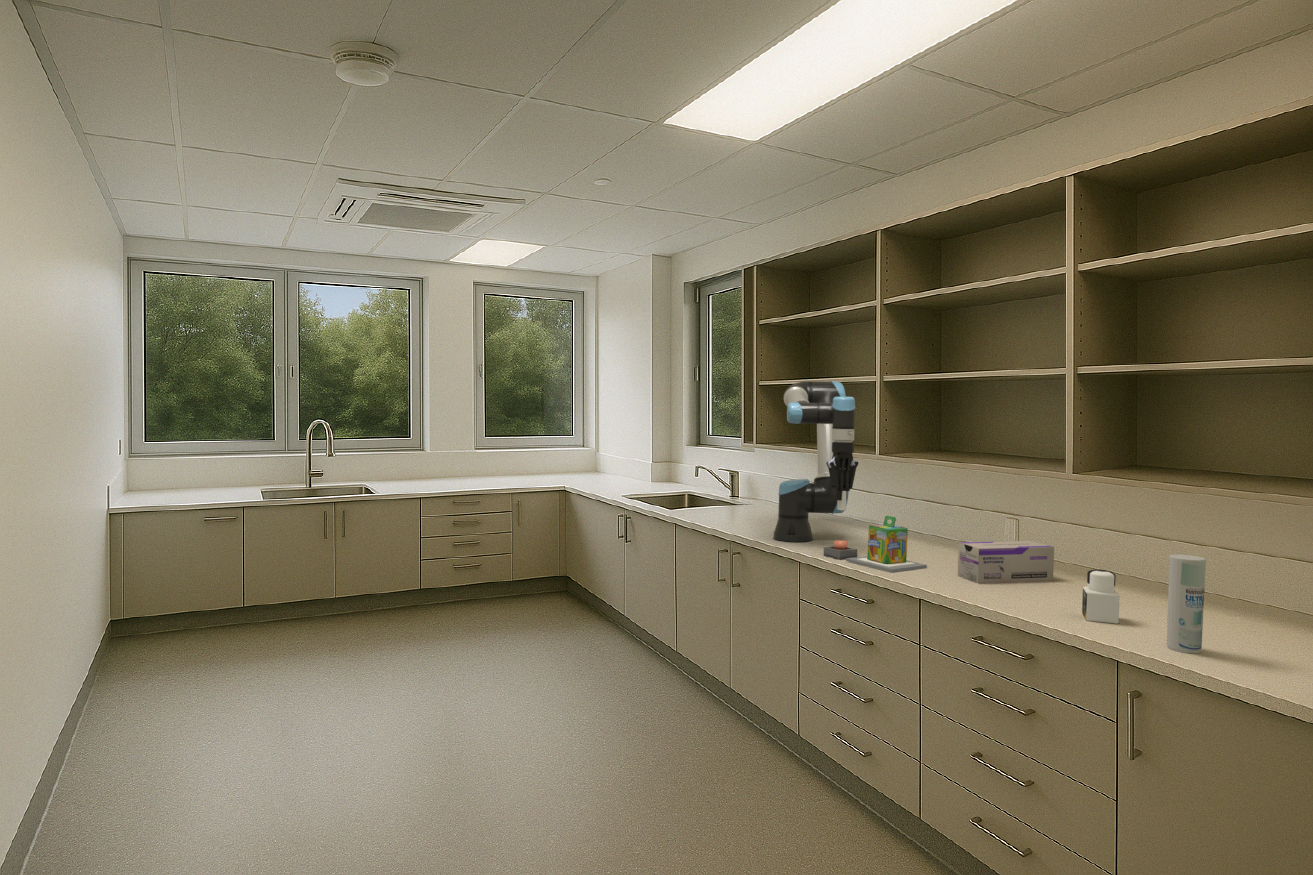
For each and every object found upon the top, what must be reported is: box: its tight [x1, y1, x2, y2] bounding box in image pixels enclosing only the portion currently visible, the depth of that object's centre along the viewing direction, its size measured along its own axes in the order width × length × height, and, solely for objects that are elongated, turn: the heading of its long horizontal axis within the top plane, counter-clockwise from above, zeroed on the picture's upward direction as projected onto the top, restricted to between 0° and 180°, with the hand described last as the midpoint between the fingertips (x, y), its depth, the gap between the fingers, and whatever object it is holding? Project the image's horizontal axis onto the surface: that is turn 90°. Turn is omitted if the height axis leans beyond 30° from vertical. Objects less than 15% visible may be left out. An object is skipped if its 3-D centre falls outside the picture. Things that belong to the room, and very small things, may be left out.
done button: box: [833, 539, 848, 550], centre depth 270 cm, size 4×4×3 cm
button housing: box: [823, 545, 858, 561], centre depth 270 cm, size 8×8×3 cm
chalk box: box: [866, 515, 909, 564], centre depth 257 cm, size 9×9×15 cm
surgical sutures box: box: [957, 540, 1055, 585], centre depth 238 cm, size 25×11×11 cm, turn 101°
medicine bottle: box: [1081, 568, 1121, 625], centre depth 193 cm, size 7×7×12 cm
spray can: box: [1166, 554, 1207, 654], centre depth 168 cm, size 6×6×20 cm
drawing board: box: [845, 555, 928, 573], centre depth 257 cm, size 20×16×1 cm
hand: (841, 509), depth 269 cm, fingers closed
